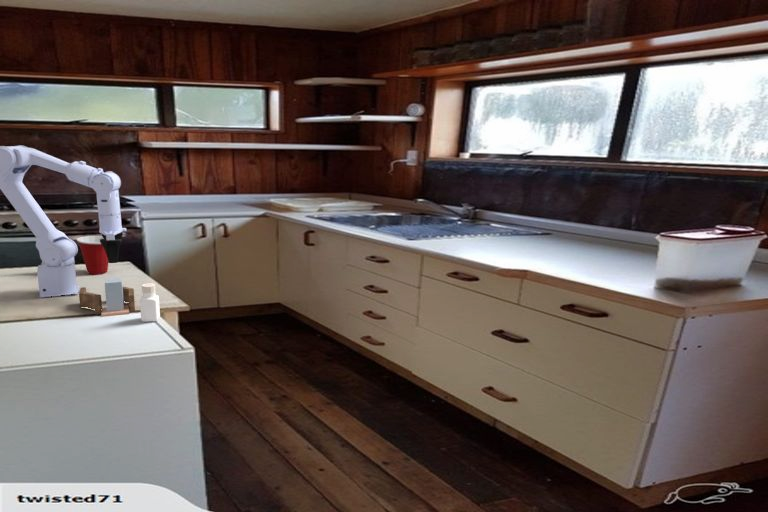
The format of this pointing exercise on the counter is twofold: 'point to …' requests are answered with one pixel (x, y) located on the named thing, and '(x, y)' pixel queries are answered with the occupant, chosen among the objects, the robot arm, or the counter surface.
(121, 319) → the counter surface
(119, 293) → the slate block
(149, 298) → the pepper shaker
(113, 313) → the coaster
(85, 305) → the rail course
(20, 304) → the counter surface
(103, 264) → the plastic cup
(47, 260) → the robot arm
